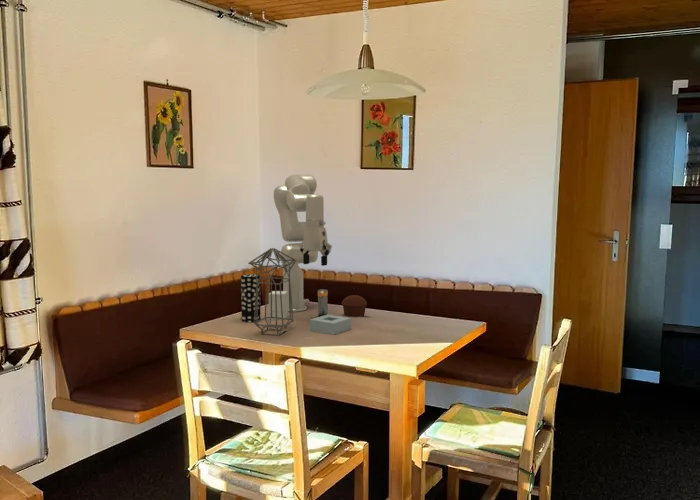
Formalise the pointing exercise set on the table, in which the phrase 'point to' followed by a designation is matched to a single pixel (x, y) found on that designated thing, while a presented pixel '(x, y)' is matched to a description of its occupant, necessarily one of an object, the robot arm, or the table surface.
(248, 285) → the spotted tube
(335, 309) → the table surface
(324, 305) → the pin
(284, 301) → the supplement box
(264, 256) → the geometric lantern
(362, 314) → the muffin
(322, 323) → the socket
